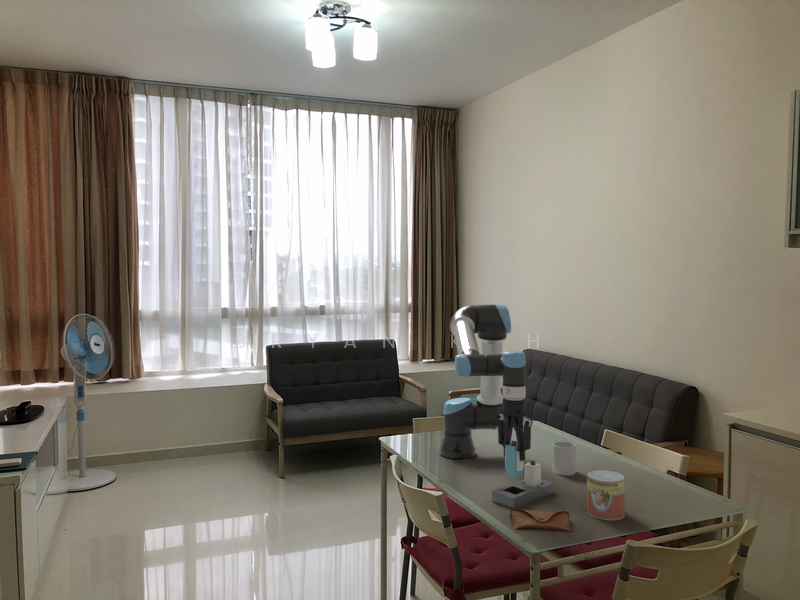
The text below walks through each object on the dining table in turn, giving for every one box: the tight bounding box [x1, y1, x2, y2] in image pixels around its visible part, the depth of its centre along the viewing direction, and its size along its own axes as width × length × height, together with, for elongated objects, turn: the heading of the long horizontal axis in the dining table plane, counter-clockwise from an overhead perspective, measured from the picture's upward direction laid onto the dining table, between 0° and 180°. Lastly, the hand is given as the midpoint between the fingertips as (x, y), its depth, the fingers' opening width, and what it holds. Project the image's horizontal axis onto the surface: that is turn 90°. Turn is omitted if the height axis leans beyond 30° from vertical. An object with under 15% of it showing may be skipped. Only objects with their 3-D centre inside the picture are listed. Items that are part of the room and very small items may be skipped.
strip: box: [491, 478, 555, 510], centre depth 200 cm, size 22×9×4 cm, turn 131°
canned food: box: [586, 469, 626, 521], centre depth 187 cm, size 11×11×12 cm
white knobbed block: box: [523, 459, 542, 488], centre depth 203 cm, size 4×4×11 cm
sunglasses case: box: [509, 508, 573, 533], centre depth 179 cm, size 18×7×7 cm
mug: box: [552, 440, 577, 476], centre depth 228 cm, size 12×8×11 cm
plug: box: [505, 440, 524, 478], centre depth 196 cm, size 4×4×11 cm
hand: (514, 468), depth 197 cm, fingers closed on plug, 4 cm apart
